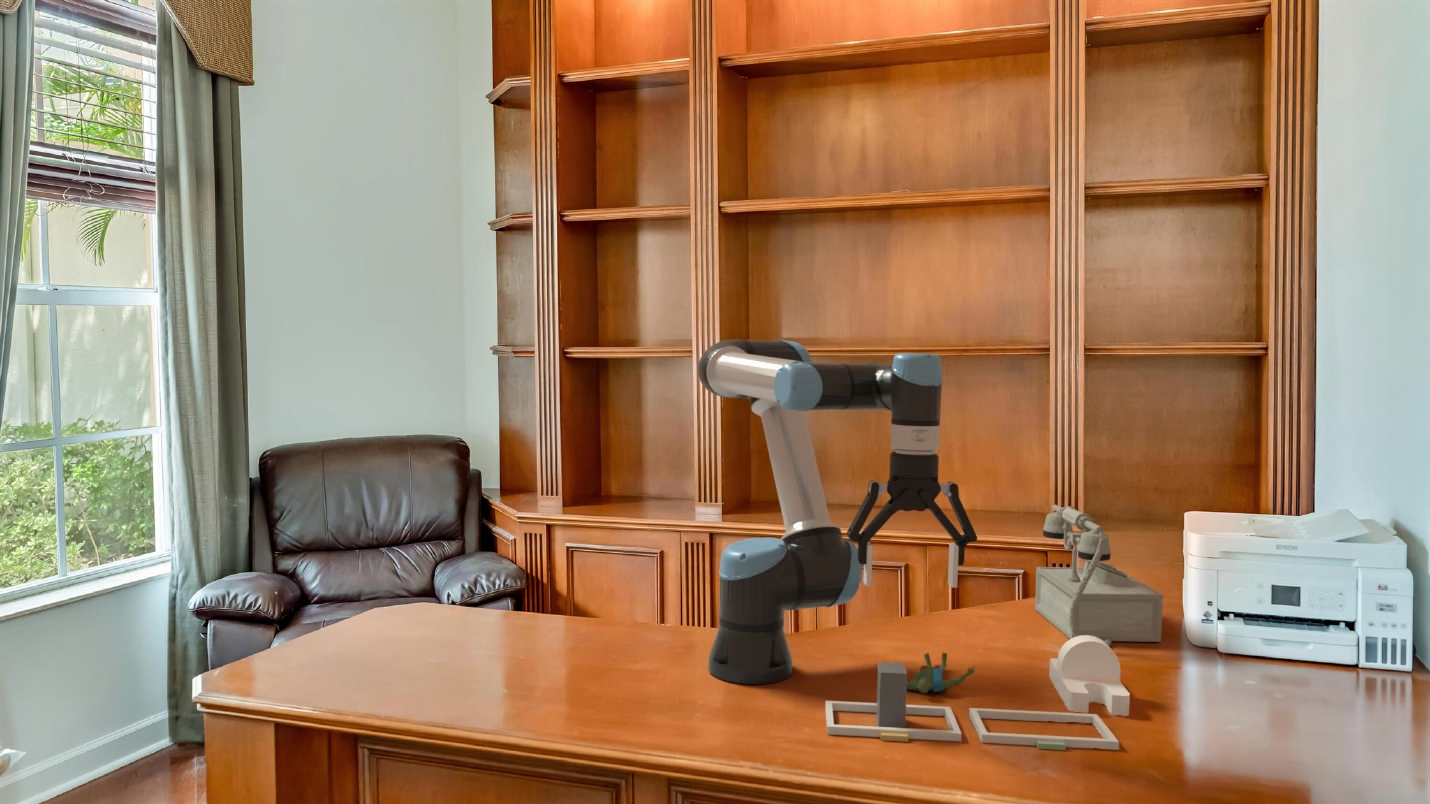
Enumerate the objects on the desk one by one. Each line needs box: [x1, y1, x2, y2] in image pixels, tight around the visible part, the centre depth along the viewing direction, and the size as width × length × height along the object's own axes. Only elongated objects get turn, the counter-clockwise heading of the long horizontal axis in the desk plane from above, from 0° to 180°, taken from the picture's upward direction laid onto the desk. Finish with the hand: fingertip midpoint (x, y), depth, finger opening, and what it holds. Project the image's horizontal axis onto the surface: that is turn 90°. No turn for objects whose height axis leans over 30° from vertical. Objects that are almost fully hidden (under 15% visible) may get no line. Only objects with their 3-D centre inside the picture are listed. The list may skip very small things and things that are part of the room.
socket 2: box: [968, 707, 1120, 751], centre depth 154 cm, size 20×12×1 cm, turn 85°
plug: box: [875, 661, 908, 728], centre depth 157 cm, size 4×6×9 cm
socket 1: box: [824, 700, 962, 742], centre depth 156 cm, size 20×12×1 cm, turn 85°
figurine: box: [907, 651, 976, 694], centre depth 176 cm, size 16×4×18 cm
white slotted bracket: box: [1048, 635, 1131, 717], centre depth 171 cm, size 10×18×10 cm, turn 172°
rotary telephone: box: [1034, 504, 1164, 647], centre depth 211 cm, size 32×20×25 cm, turn 0°
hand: (909, 585), depth 158 cm, fingers open, 13 cm apart
